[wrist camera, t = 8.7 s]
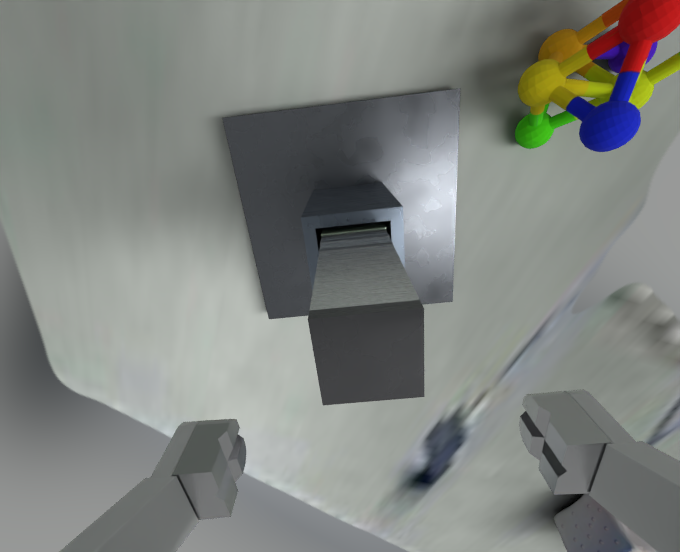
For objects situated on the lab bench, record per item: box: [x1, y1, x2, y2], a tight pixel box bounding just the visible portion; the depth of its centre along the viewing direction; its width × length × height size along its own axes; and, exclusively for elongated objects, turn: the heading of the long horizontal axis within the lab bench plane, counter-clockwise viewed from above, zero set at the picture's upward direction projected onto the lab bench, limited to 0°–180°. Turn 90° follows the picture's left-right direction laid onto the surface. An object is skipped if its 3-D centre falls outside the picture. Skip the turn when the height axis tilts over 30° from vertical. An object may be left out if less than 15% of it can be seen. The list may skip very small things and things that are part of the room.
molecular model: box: [515, 0, 680, 152], centre depth 22 cm, size 12×7×12 cm, turn 130°
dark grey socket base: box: [223, 89, 460, 319], centre depth 27 cm, size 20×20×12 cm
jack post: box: [308, 221, 424, 405], centre depth 19 cm, size 4×4×17 cm
